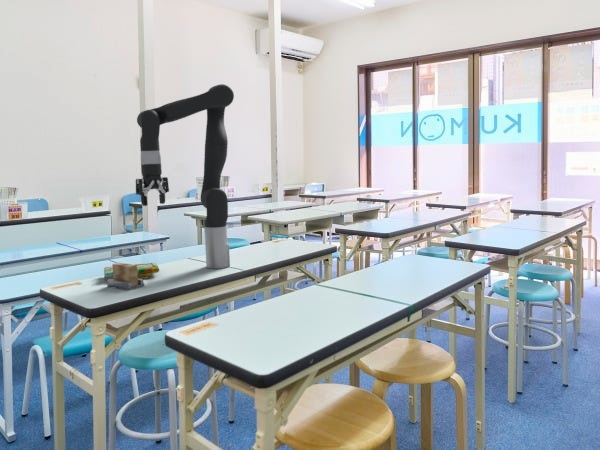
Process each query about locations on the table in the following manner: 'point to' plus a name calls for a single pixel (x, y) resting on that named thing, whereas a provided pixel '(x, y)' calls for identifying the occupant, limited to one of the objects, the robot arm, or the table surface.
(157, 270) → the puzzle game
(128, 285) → the sill track
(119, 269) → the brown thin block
